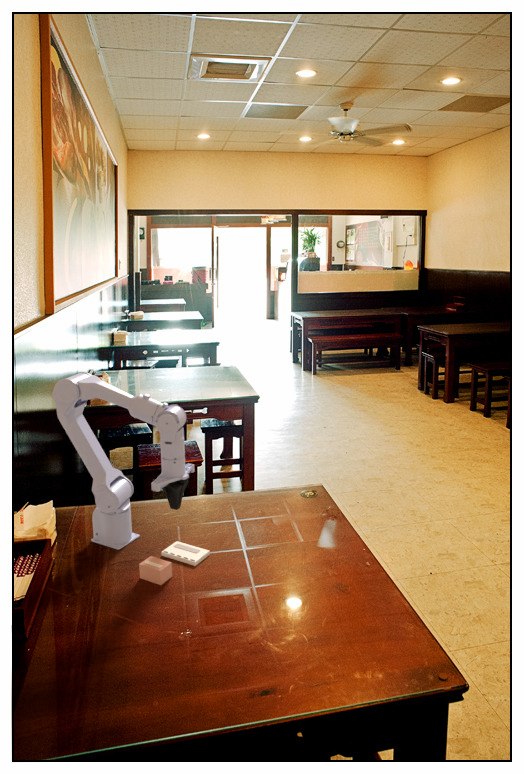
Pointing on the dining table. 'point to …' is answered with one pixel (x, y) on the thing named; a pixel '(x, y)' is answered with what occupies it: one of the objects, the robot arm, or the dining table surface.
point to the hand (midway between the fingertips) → (175, 508)
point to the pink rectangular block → (155, 570)
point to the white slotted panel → (185, 553)
